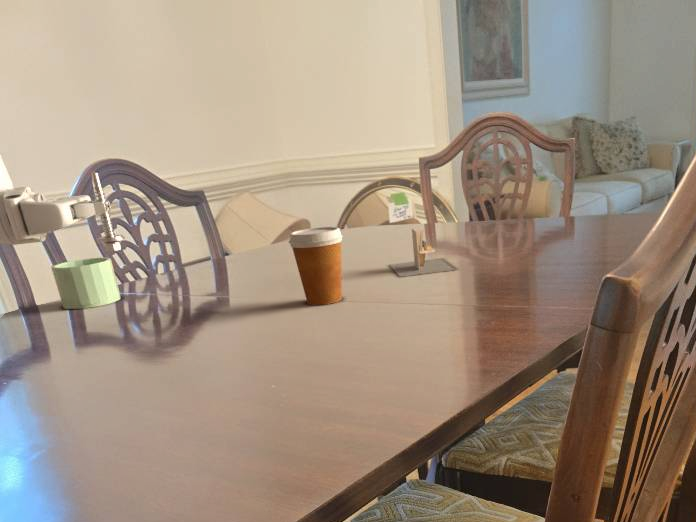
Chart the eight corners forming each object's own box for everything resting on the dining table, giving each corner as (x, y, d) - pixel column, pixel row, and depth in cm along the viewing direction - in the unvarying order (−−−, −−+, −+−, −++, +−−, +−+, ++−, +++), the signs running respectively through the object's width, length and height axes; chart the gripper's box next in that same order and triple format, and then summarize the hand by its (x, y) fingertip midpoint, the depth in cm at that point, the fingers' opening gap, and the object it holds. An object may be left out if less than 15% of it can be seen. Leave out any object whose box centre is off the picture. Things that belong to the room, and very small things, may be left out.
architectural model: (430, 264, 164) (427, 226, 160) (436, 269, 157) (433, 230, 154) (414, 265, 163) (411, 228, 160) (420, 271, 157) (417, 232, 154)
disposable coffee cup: (287, 306, 138) (276, 235, 133) (319, 294, 145) (310, 226, 140) (329, 308, 134) (319, 234, 128) (360, 295, 141) (352, 225, 135)
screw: (121, 251, 135) (95, 254, 135) (131, 247, 139) (106, 249, 140) (100, 170, 129) (73, 172, 129) (112, 168, 133) (85, 170, 133)
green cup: (57, 311, 155) (45, 270, 152) (70, 300, 166) (58, 262, 162) (115, 304, 157) (104, 263, 153) (124, 294, 167) (114, 255, 163)
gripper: (48, 228, 143) (123, 220, 144) (14, 242, 125) (100, 232, 126) (37, 191, 140) (114, 183, 141) (1, 200, 122) (89, 190, 123)
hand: (107, 206), depth 134 cm, fingers closed on screw, 2 cm apart
